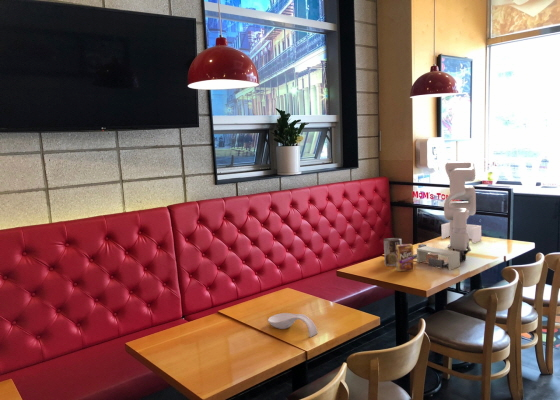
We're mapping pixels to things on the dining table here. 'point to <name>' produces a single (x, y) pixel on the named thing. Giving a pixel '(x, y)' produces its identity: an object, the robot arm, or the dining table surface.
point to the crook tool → (442, 261)
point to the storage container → (472, 231)
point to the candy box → (404, 257)
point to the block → (431, 256)
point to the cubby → (452, 255)
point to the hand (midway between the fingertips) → (460, 259)
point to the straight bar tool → (418, 247)
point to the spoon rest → (292, 321)
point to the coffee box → (390, 251)
